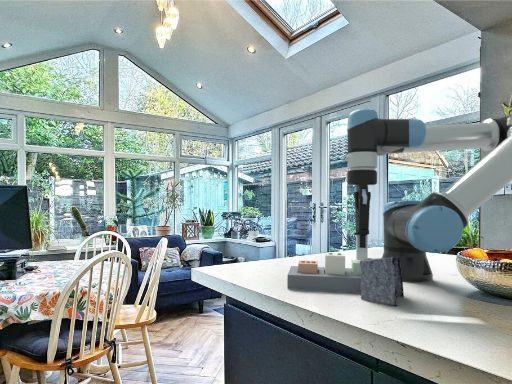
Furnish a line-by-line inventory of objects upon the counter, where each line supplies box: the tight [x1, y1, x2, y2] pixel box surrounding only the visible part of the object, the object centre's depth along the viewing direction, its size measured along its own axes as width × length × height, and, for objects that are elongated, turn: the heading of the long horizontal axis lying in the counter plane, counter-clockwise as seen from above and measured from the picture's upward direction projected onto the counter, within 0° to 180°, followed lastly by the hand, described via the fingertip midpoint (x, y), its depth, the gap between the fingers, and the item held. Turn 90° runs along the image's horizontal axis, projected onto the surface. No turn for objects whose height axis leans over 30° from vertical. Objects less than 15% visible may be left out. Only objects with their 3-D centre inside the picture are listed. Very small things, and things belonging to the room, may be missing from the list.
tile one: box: [351, 259, 362, 275], centre depth 91 cm, size 5×5×5 cm
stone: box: [360, 257, 405, 307], centre depth 80 cm, size 12×10×10 cm
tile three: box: [297, 259, 319, 274], centre depth 93 cm, size 5×5×5 cm
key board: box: [286, 265, 362, 294], centre depth 92 cm, size 24×12×4 cm, turn 80°
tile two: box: [324, 252, 346, 275], centre depth 92 cm, size 5×5×5 cm
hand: (361, 259), depth 91 cm, fingers closed
